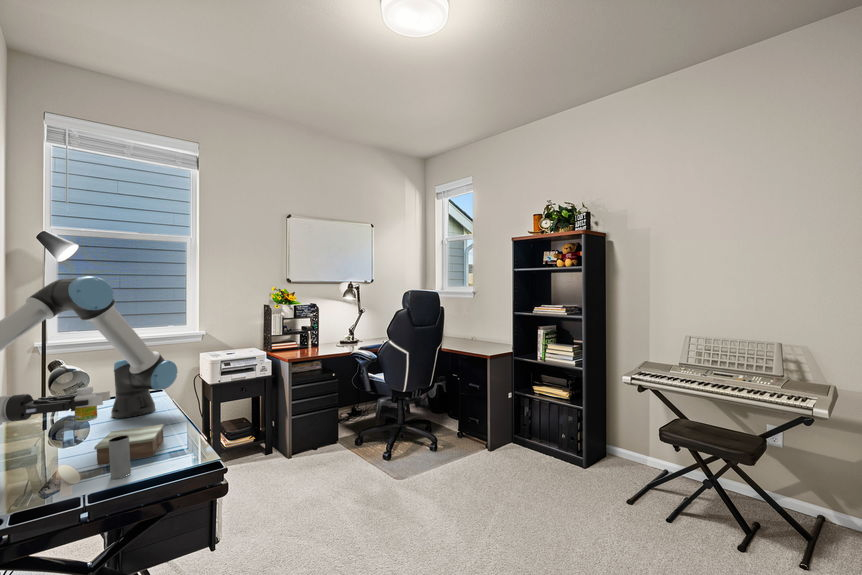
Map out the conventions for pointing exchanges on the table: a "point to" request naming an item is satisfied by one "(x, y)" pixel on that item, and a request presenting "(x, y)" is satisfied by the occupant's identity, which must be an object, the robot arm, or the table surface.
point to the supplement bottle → (85, 412)
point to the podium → (133, 442)
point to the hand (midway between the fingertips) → (105, 397)
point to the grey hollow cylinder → (119, 457)
